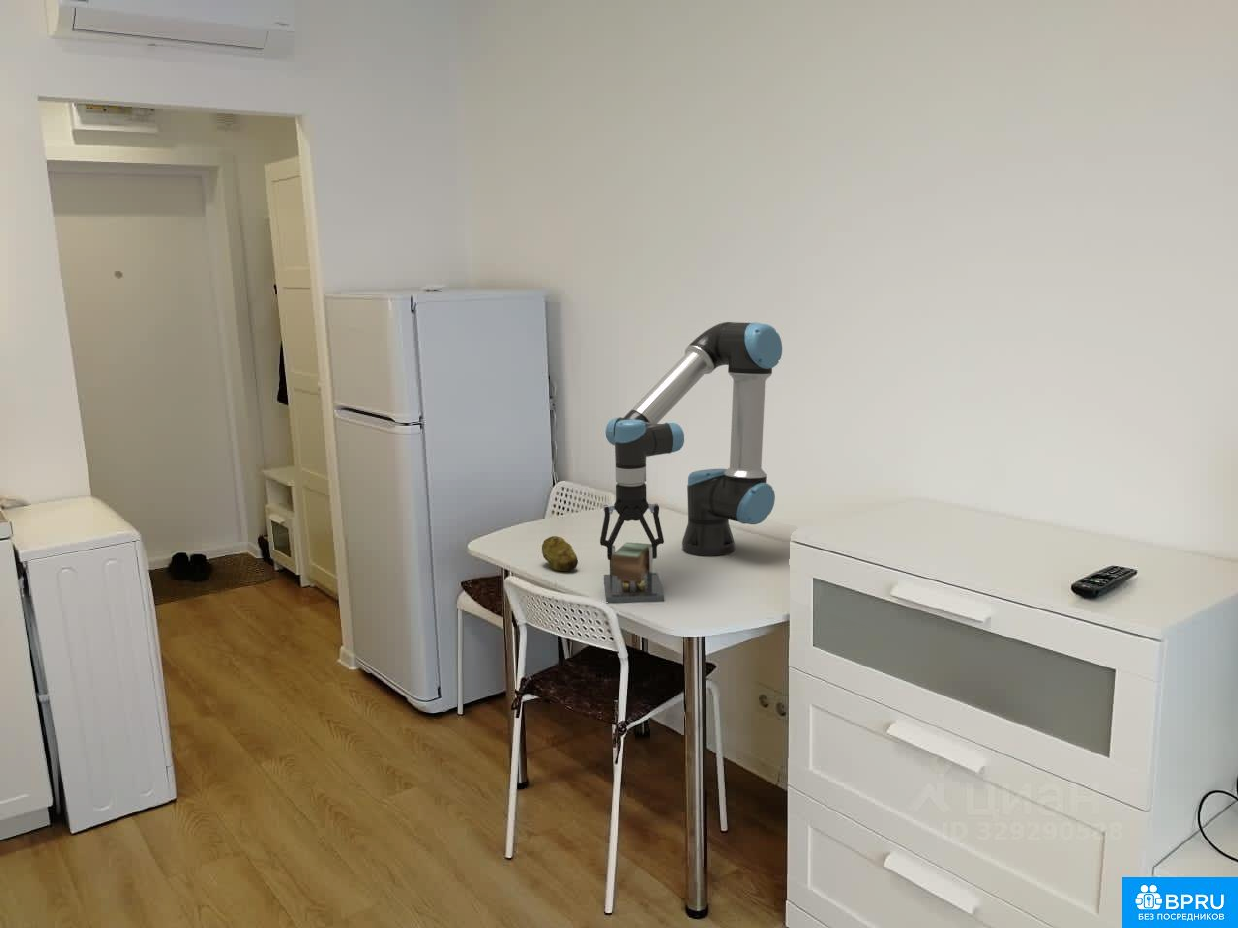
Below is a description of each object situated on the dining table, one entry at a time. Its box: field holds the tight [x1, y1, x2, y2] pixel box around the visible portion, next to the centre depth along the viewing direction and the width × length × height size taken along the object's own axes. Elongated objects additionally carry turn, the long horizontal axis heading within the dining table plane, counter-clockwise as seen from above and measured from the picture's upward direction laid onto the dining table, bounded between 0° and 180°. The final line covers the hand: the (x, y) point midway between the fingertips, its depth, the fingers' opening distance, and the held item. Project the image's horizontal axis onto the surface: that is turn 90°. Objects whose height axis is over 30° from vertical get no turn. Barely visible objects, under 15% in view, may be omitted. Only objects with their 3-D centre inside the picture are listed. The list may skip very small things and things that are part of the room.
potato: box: [541, 535, 579, 572], centre depth 265 cm, size 8×13×8 cm, turn 16°
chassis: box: [603, 560, 665, 604], centre depth 245 cm, size 18×14×6 cm
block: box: [611, 542, 650, 582], centre depth 244 cm, size 12×7×6 cm, turn 163°
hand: (632, 571), depth 244 cm, fingers closed on block, 8 cm apart
